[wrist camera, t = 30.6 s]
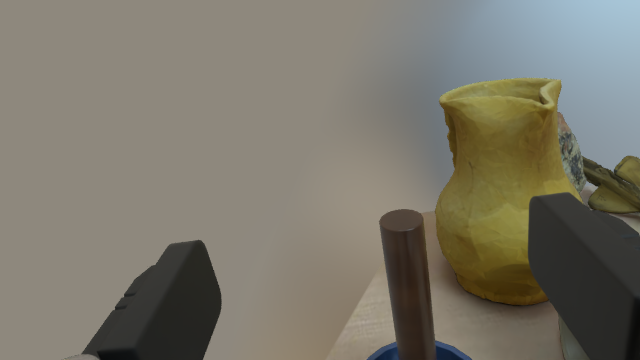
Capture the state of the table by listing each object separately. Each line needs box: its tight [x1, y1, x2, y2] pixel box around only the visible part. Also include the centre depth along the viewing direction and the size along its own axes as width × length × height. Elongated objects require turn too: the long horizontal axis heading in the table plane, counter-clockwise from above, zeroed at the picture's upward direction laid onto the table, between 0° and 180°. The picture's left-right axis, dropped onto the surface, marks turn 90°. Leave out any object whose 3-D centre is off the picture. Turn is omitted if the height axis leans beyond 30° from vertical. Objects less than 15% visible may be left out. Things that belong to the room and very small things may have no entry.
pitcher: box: [435, 78, 583, 305], centre depth 51 cm, size 17×19×25 cm
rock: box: [557, 112, 587, 193], centre depth 63 cm, size 14×17×10 cm
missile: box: [582, 156, 640, 214], centre depth 63 cm, size 7×25×7 cm, turn 9°
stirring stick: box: [379, 209, 437, 360], centre depth 33 cm, size 3×3×22 cm
